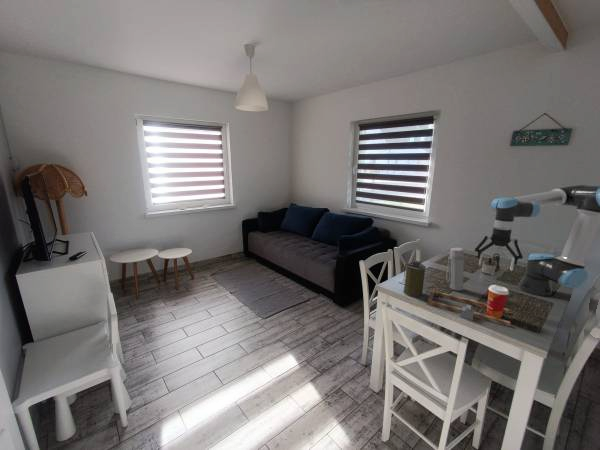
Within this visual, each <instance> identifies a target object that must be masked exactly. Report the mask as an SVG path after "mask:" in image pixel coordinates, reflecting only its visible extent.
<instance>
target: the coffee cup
mask: <svg viewBox="0 0 600 450" xmlns="http://www.w3.org/2000/svg"><path fill="white" fill-rule="evenodd" d="M509 294H510V293H509V289H508V288H506V287H505V286H500V285H496V284H491V285H490V286H489V287H488V295H487V296H488V297H487V303H486V304H487V309H486V315H487V316H491V317H495V318H498V319H501V318H502V315H503V314H504V313H503V309H504V308H505V305H506V302H507V299H508V295H509Z"/></svg>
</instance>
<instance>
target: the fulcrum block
mask: <svg viewBox="0 0 600 450" xmlns="http://www.w3.org/2000/svg"><path fill="white" fill-rule="evenodd" d="M465 305H466V306H462V308H461V309H462V313H460V318H463V319H465V320H469V321H473V320H474V317H473V316H474V312H475V309H474V308H472V306H471V304H465Z"/></svg>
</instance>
